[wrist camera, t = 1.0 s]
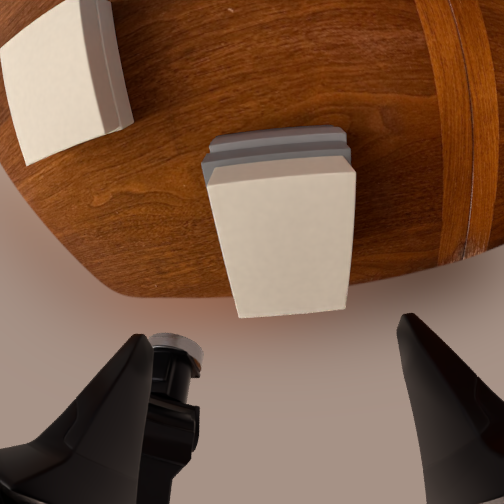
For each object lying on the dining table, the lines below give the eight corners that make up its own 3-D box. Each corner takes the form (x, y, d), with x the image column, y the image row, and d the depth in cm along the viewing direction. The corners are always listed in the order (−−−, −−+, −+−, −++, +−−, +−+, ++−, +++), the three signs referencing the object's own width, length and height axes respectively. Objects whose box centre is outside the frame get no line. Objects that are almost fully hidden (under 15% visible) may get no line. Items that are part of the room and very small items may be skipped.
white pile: (134, 122, 16) (108, 137, 13) (56, 150, 16) (27, 169, 13) (110, -1, 10) (80, -9, 7) (32, 44, 11) (-1, 49, 8)
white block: (338, 282, 17) (345, 309, 15) (241, 291, 18) (238, 318, 16) (343, 154, 12) (356, 171, 10) (214, 166, 13) (206, 185, 11)
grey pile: (334, 247, 21) (347, 290, 17) (238, 256, 22) (233, 299, 18) (333, 121, 15) (355, 140, 12) (214, 132, 16) (198, 155, 13)
